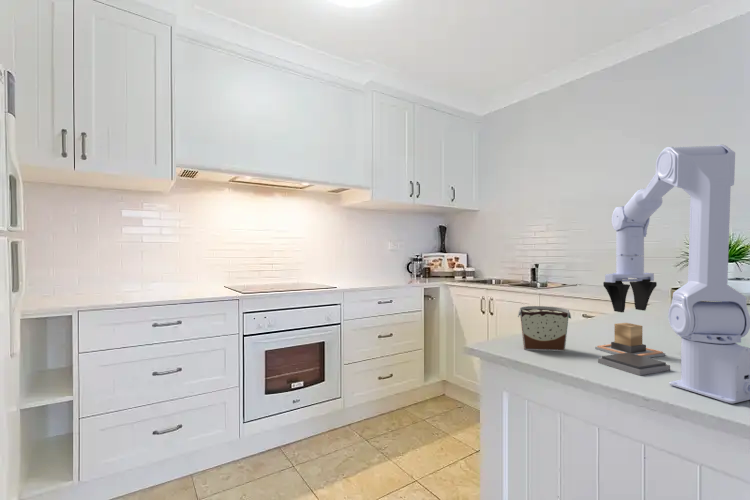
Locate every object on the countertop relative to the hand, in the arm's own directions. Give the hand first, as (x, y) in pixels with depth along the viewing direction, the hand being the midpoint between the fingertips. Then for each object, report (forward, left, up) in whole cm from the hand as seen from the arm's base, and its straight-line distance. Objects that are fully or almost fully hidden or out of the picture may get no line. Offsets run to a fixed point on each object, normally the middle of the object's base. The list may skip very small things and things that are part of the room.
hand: (629, 310), depth 94 cm
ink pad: (-10, +13, -9) cm, 19 cm away
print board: (-2, +3, -9) cm, 10 cm away
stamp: (-2, +3, -9) cm, 10 cm away
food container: (+9, +19, -10) cm, 23 cm away
